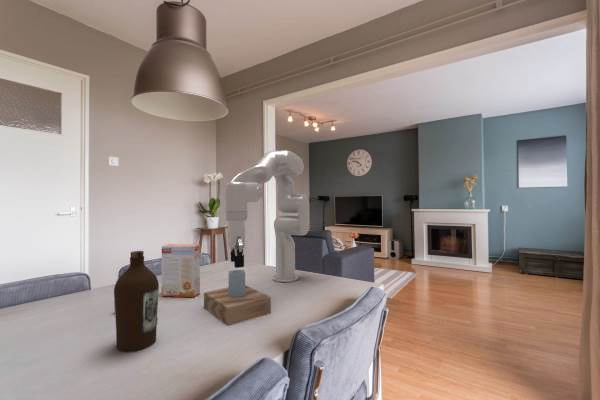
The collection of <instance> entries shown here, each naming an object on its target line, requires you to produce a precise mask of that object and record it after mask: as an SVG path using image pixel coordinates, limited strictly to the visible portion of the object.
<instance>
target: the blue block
mask: <svg viewBox="0 0 600 400" xmlns="http://www.w3.org/2000/svg"><path fill="white" fill-rule="evenodd" d="M245 285H246V272H245V270H244V269H236V270H228V287H229V298H232V297H242V296H245Z"/></svg>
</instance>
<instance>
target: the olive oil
mask: <svg viewBox="0 0 600 400" xmlns="http://www.w3.org/2000/svg"><path fill="white" fill-rule="evenodd" d="M144 252H145V251H144V250H134V251H130V257H129V267H128V268H127V269H126V270H125V271H124V272H122V274H121V275H120V276H119V277H118V279H117V280H116V282H115V285H114V287H113V295H114V296H113V297H114V300H115V314H114V315H115V316H114V317H115V334H116V340H115V341H116V349H117V350H118V352H119V351H120V352H122V353H123V352H125V353H126V352H127V353H128V352H129V353H130V352H131V353H132V352H136V351H141V350H144V349H147V348H149V347H150V346H152V345H153V344H155V343H156V340H157V325H158V306H159V305H158V304H159V290H160V288H159V287H160V285H159V280H158V277H157V275H156V274H155V273H154V272H153V271H152V270H151V269H149V268H148V267H147V266H146V265H145V256H144ZM114 300H113V301H114Z"/></svg>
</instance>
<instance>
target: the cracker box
mask: <svg viewBox="0 0 600 400" xmlns="http://www.w3.org/2000/svg"><path fill="white" fill-rule="evenodd" d="M200 293H201V245H200V243H199V244H198V243H197V244H196V243H195V244H194V243H193V244H192V243H191V244H189V243H187V244H186V243H185V244H184V243H168V244H164V245H161V297H162V296H174V298H175V297H176V298H196V296H198V295H199V294H200Z"/></svg>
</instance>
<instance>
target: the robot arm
mask: <svg viewBox="0 0 600 400" xmlns="http://www.w3.org/2000/svg"><path fill="white" fill-rule="evenodd" d="M304 166H305V165H304V162H303V159H302V158H301V157H300V156H298V155H297V154H296V153H295V152H292V151H290V150H271V151H268V152H265V154H264V155H263V156H261V158H260V160H259V161H258V162H257V163H255V165H253V166H252V167H250V168H248V169H246V170H244V171H242V172H240V173H238V174H237V175H235V176H234V177H233V178H232V180H231V181H230V182H227V183H226V185H225V221H226V222H228V226H227V247H228V248H229V249H230V263H231V262H232V263H233V262H234V268H235V269H236V268H244V267H245V255H244V254H245V253H244V249H245V248H246V247H245V246H246V229H245V228H246V227H245V226H246V225H245V222H246V221H248V203H255V202H259V201H260V200H261V199H262V198H263V196H264V189H263V187H262V184H266V183H268V182H269V181H270V180H271V179H272V178H274V179H275V182H276V185H277V203H276V204H277V210H278V211H279V212H280V213H283V214H297V215H279V216H277V217H276V218H275V219H274V221H273V228H274V235H275V275H273V276H272V280H273V281H275V282H277V283H291V282H295V281H298V279H299V276H298V275H296V244H295V243H296V242H295V241H294V238H293V237H292V236H305V235H307V234H308V232H309V227H310V202H309V201H310V200H309V198H308V196H307V195H306V194H304V193H296V192H295V182H294V181H293V179H292V178H291V176H300V175H302V173H303V172H304V169H305V167H304Z"/></svg>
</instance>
